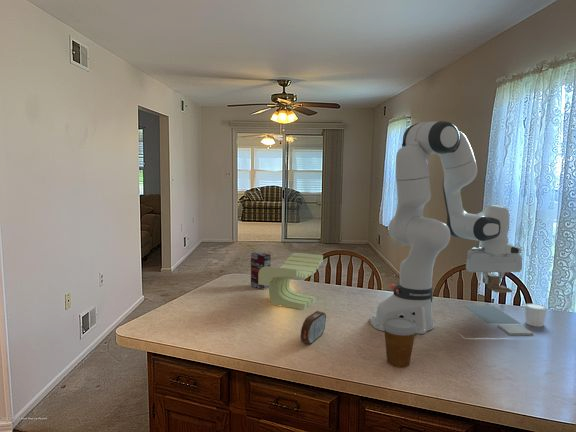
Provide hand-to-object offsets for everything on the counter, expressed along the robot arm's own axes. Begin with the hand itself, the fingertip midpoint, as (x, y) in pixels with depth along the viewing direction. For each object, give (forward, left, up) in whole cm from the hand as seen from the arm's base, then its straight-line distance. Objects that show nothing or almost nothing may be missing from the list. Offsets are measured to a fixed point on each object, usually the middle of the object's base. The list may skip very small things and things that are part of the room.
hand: (492, 283), depth 166 cm
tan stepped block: (0, -2, -1) cm, 2 cm away
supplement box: (-90, +36, -13) cm, 98 cm away
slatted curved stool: (-76, +14, -13) cm, 79 cm away
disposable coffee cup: (-47, -42, -13) cm, 64 cm away
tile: (0, -18, -12) cm, 21 cm away
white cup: (+11, -11, -13) cm, 20 cm away
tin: (-70, -25, -13) cm, 75 cm away
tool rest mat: (0, -1, -12) cm, 12 cm away
